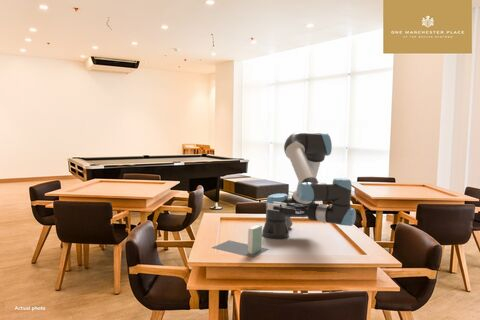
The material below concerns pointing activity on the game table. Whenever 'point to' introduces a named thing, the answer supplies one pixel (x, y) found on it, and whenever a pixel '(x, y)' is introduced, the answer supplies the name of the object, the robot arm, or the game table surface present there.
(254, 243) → the tile
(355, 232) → the game table surface
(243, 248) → the mat
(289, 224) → the coffee pot
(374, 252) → the game table surface
